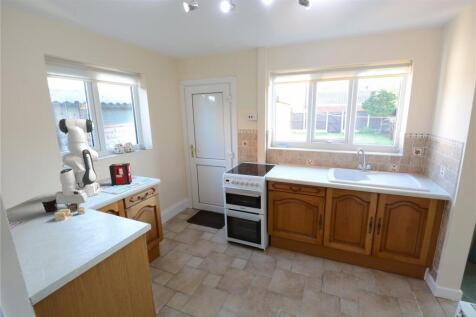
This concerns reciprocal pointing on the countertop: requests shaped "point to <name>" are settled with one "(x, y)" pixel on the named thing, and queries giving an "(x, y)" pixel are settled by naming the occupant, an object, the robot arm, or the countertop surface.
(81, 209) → the maple dowel
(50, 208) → the coffee mug
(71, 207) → the walnut cube
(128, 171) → the cleaning product box
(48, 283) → the countertop surface
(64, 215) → the oak block
